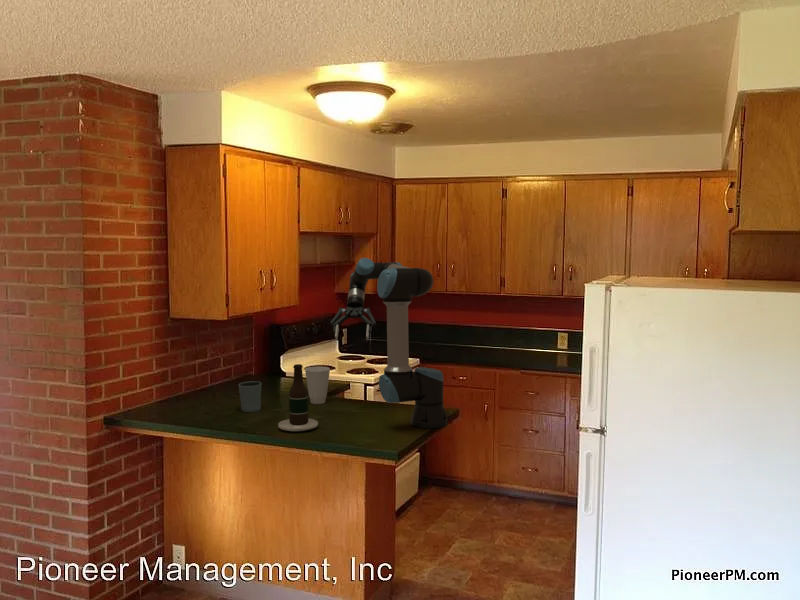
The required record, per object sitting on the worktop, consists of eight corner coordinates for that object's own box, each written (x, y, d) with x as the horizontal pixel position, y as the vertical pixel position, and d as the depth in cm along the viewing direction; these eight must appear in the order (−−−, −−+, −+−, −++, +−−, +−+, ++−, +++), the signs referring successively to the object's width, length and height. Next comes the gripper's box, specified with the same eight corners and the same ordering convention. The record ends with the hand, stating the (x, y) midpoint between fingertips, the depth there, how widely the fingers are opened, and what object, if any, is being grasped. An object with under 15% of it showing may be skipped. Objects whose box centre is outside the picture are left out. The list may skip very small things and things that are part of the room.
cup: (313, 406, 317) (312, 372, 315) (300, 401, 326) (300, 368, 325) (335, 402, 324) (334, 369, 322) (322, 398, 333) (322, 365, 332)
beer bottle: (312, 422, 280) (311, 364, 278) (297, 426, 275) (296, 367, 273) (300, 419, 286) (299, 362, 284) (285, 423, 280) (284, 364, 278)
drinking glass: (266, 408, 312) (266, 382, 311) (250, 413, 304) (249, 386, 303) (250, 406, 318) (250, 380, 317) (234, 410, 310) (233, 384, 309)
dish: (323, 430, 276) (323, 425, 276) (284, 435, 270) (283, 430, 269) (311, 421, 291) (311, 416, 291) (274, 425, 284) (273, 420, 284)
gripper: (383, 305, 315) (380, 343, 301) (329, 306, 317) (324, 343, 303) (382, 295, 309) (379, 332, 295) (327, 295, 311) (322, 333, 297)
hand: (351, 338), depth 299 cm, fingers open, 13 cm apart
